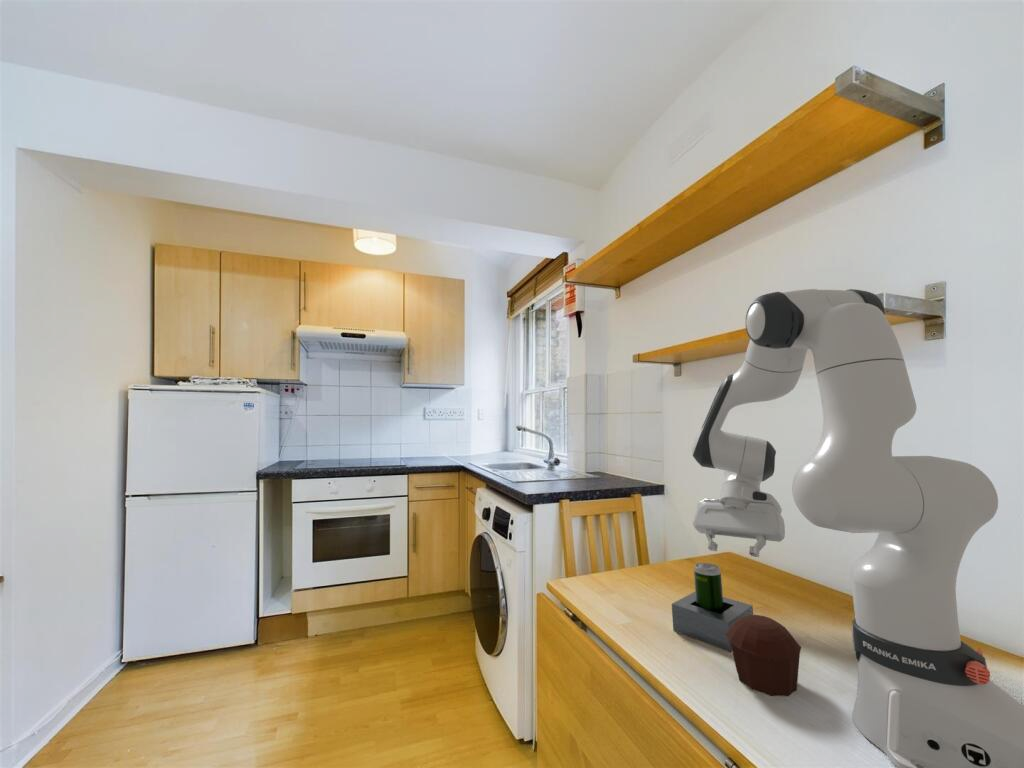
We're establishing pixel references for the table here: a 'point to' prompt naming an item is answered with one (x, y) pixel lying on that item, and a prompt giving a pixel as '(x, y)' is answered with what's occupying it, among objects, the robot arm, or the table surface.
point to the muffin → (765, 655)
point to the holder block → (707, 620)
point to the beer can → (708, 587)
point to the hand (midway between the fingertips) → (732, 552)
